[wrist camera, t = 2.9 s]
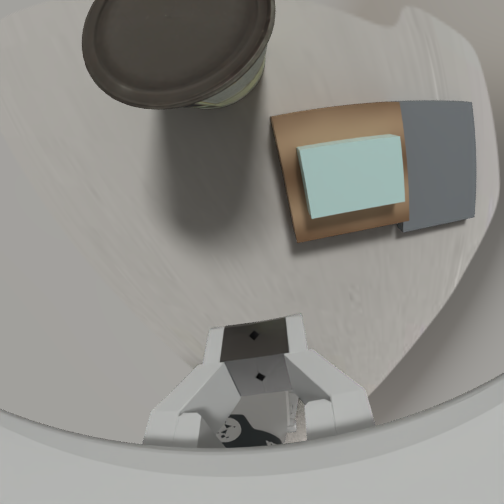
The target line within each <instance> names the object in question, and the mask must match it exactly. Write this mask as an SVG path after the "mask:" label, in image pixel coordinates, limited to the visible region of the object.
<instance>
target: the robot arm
mask: <svg viewBox="0 0 504 504" xmlns="http://www.w3.org/2000/svg"><path fill="white" fill-rule="evenodd" d="M298 399H300V400H301V401H302V402H303V403H304V404H305V406H304V409H305V419H306V430H307V441H301V442H294V443H286V444H283V443H284V442H285V439H286V434H287V432H296V420H295V417H296V411H297V405H298ZM0 504H504V373H502V374H501V375H499V376H497V377H495V378H494V379H492V380H490V381H488V382H486V383H484V384H482V385H480V386H478V387H477V388H474V389H472V390H470V391H468V392H466V393H464V394H462V395H460V396H457V397H455V398H453V399H451V400H448V401H446V402H443V403H441V404H439V405H436V406H434V407H431V408H429V409H426V410H423V411H421V412H418V413H415V414H412V415H409V416H406V417H403V418H400V419H397V420H394V421H391V422H387V423H384V424H381V425H377V426H375V422H374V418H373V415H372V411H371V408H370V404H369V401H368V397H367V394H366V390H365V388H363V387H362V386H361V385H359V384H358V383H357V382H355V381H354V380H353V379H351V378H350V377H349V376H347V375H346V374H345V373H344V372H342V371H341V370H340V369H338V368H337V367H336V366H334V365H333V364H332V363H331V362H329V361H328V360H327V359H325V358H324V357H323V356H322V355H320V354H319V353H318V352H316V351H315V350H314V349H309V350H308V346H307V340H306V334H305V329H304V323H303V318H302V314H301V313H299V314H294V315H289V316H286V317H281V318H275V319H270V320H264V321H258V322H252V323H244V324H236V325H228V326H222V327H214V328H211V329H210V330H209V333H208V338H207V343H206V348H205V353H204V358H203V364H200V365H197V366H196V367H195V368H194V369H193V370H192V371H191V373H189V374H188V375H187V377H185V378H184V379H183V381H181V383H180V384H178V385H177V386H176V388H174V390H172V391H171V393H169V394H168V395H167V396H166V397H165V398H164V399H163V400H162V401H161V402H160V403H159V404H158V405H157V406H156V407H155V408H154V409H153V410H152V411H151V414H150V418H149V421H148V425H147V429H146V432H145V436H144V440H143V444H135V443H127V442H120V441H114V440H108V439H103V438H97V437H92V436H87V435H83V434H79V433H74V432H70V431H66V430H62V429H59V428H55V427H51V426H48V425H45V424H41V423H38V422H35V421H32V420H29V419H26V418H23V417H21V416H18V415H15V414H12V413H9V412H7V411H5V410H2V409H0Z"/></svg>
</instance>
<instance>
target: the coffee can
mask: <svg viewBox="0 0 504 504" xmlns="http://www.w3.org/2000/svg"><path fill="white" fill-rule="evenodd" d="M274 21H275V0H95V1H94V2H93V4H92V6H91V8H90V10H89V12H88V15H87V17H86V20H85V24H84V28H83V34H82V51H83V58H84V61H85V65H86V68H87V70H88V72H89V74H90V76H91V77H92V79H93V80H94V82H95V83H96V84H97V86H98V87H99V88H100V89H101V90H103V91H104V92H105V93H106V94H107V95H109V96H110V97H112V98H113V99H115V100H117V101H119V102H122V103H124V104H127V105H130V106H134V107H138V108H144V109H171V108H179V107H194V108H201V109H213V108H221V107H225V106H228V105H230V104H232V103H235V102H237V101H238V100H240V99H242V98H243V97H244V96H246V95H247V94H248V93H249V92H250V91H251V90H252V89H253V88H254V87H255V86H256V84H257V83H258V81H259V79H260V77H261V75H262V73H263V69H264V66H265V54H266V48H267V43H268V41H269V39H270V36H271V34H272V30H273V26H274Z"/></svg>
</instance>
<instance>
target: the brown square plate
mask: <svg viewBox="0 0 504 504" xmlns="http://www.w3.org/2000/svg"><path fill="white" fill-rule="evenodd" d="M270 119H271V123H272V128H273V132H274V136H275V141H276V145H277V150H278V154H279V159H280V164H281V168H282V173H283V178H284V183H285V188H286V192H287V197H288V202H289V208H290V213H291V218H292V223H293V229H294V233H295V236H296V240H297V243H300V242H305V241H310V240H315V239H320V238H325V237H330V236H335V235H341V234H346V233H351V232H356V231H361V230H366V229H371V228H376V227H381V226H386V225H391V224H396V223H401V222H406V221H409V186H408V169H407V157H406V146H405V137H404V129H403V121H402V115H401V108H400V102H375V103H363V104H352V105H343V106H334V107H326V108H319V109H312V110H306V111H299V112H293V113H288V114H282V115H277V116H272V117H270ZM386 134H392V135H396V136H400V140H401V149H402V160H403V172H404V189H405V202H400V203H394V204H389V205H383V206H378V207H372V208H367V209H361V210H356V211H351V212H345V213H340V214H335V215H329V216H324V217H319V218H314V219H312V218H311V216H310V214H309V212H308V208H307V202H306V196H305V191H304V185H303V180H302V174H301V169H300V164H299V159H298V154H297V149H296V147H300V146H306V145H312V144H318V143H324V142H331V141H337V140H344V139H352V138H359V137H368V136H376V135H386Z"/></svg>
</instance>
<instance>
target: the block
mask: <svg viewBox="0 0 504 504" xmlns="http://www.w3.org/2000/svg"><path fill="white" fill-rule="evenodd" d="M296 149H297V154H298V159H299V164H300V169H301V174H302V180H303V185H304V191H305V196H306V202H307V208H308V212H309V214H310V216H311V218H312V219H314V218H319V217H324V216H329V215H335V214H340V213H345V212H351V211H356V210H361V209H367V208H372V207H378V206H383V205H389V204H394V203H400V202H405V189H404V172H403V160H402V149H401V140H400V136H396V135H392V134H386V135H376V136H368V137H359V138H352V139H344V140H337V141H331V142H324V143H318V144H312V145H306V146H300V147H296Z"/></svg>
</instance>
